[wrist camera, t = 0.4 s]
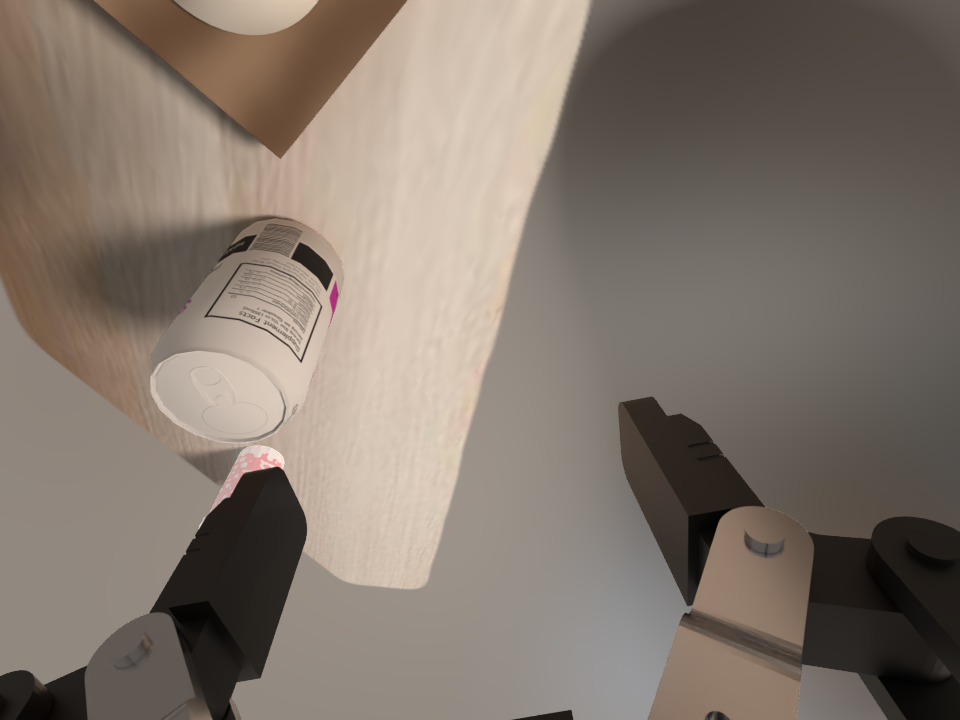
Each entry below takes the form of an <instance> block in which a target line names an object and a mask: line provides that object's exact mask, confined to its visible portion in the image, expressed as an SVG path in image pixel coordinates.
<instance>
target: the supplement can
mask: <svg viewBox="0 0 960 720" xmlns="http://www.w3.org/2000/svg"><path fill="white" fill-rule="evenodd" d="M343 281H344V274H343V268H342V263H341V260H340V258H339V257H338V255H337V253H336V252H335V250H334V248H333V247H332V245H331V244H330V243H329V242H328V241H327V240H326V239H324V238H323V237H322V236H321V235H320V234H319V233H318V232H317V231H315V230H313V229H311V228H309V227H307V226H305V225H302V224H300V223H298V222H296V221H289V220H283V219H277V218H274V219H269V220H263V221H257V222H255V223H253V224H252V225H250V226H249V227H247V228H245V229H244V230H242V231H241V232H240V234H239V235H238V236H237V238H236V239H235V240H234V242H233V243H232V244H231V246H230V247H229V248H228V249H227V251H226V252H225V253H224V255H223V256H222V257H221V259H220V260H219V261H218V263H217V264H216V265H215V267H214V268H213V269H212V271H211V272H210V273H209V275H208V276H207V277H206V279H205V280H204V281H203V283H202V284H201V285H200V287H199V288H198V289H197V290H196V292H195V293H194V294H193V296H192V297H191V298H190V300H189V301H188V302H187V304H186V305H185V306H184V308H183V309H182V310H181V312H180V313H179V314H178V316H177V317H176V318H175V320H174V321H173V322H172V324H171V325H170V326H169V328H168V329H167V330H166V331H165V333H164V334H163V335H162V337H161V338H160V340H159V342H158V343H157V345H156V347H155V349H154V350H153V352H152V354H151V366H152V376H151V377H150V381H151V395H152V396H153V398H154V400H155V402H156V404H157V405H158V407H159V409H160V410H161V411H162V412H163V413H164V414H165V415H166V416H167V417H168V418H169V419H170V420H172V421H173V422H174V423H175V424H176V425H178V426H180V427H182V428H183V429H185V430H187V431H189V432H191V433H193V434H194V435H197V436H200V437H203V438H207V439H210V440H213V441H217V442H224V443H235V444H243V443H250V442H257V441H261V440H263V439H265V438H267V437H270V436H272V435H274V434H276V432H277V431H278V430H279V429H280V428H281V427H282V426H283V425H285V424H286V423H288V422H289V421H290V420H292V418H293V417H294V416H295V415H296V414H297V413H298V412H299V411H300V409H301V408H302V407H303V404H304V401H305V398H306V395H307V392H308V389H309V386H310V383H311V380H312V377H313V374H314V371H315V368H316V365H317V362H318V359H319V356H320V353H321V350H322V347H323V344H324V341H325V338H326V335H327V332H328V329H329V326H330V323H331V320H332V317H333V314H334V311H335V308H336V305H337V302H338V299H339V296H340V293H341V289H342V285H343Z"/></svg>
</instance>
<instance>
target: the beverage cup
mask: <svg viewBox="0 0 960 720" xmlns="http://www.w3.org/2000/svg"><path fill="white" fill-rule="evenodd" d="M284 463H285V462H284V458H283V456H282V455H281V454H280V453H279V452H278V451H276V450H274V449H272V448H270V447H266V446H260V445H253V446H249V447H246V448H244V449H243V450H242V451H241V452H240V454H239V456H238V458H237V460H236V462H235V464H234V465H233V467H232V469H231V471H230V473H229V475H228V477H227V479H226V481H225V483H224V485H223V487H222V489H221V491H220V493H219V495H218V496H217V498H216V501H215V502H214V504H213V506H212V508H211V510H210V512H211V511H212V510H213V509H214V508H215V507H216V506H217V505H218V504H219V503H220V502H221V501H222V500H223V499H224V498H228V497H230V496H231V494H232V492H233V490H234V489H235V487H236V485H237V483H238V482H239V480H240V478H241V476H242V475H243V474H244V473H246V472H250V471H256V470H261V469H266V468H271V467H280V468H281V469H282V470H283V467H284ZM210 512H209V513H210ZM205 518H206V516H205V517H204V518H203V521H204V520H205ZM203 521H202V523H203ZM202 523H200V526H201V525H202ZM200 526H199V528H200ZM198 530H199V529H198Z"/></svg>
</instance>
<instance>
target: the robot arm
mask: <svg viewBox="0 0 960 720" xmlns="http://www.w3.org/2000/svg"><path fill="white" fill-rule="evenodd" d="M618 411H619V426H620V441H621V455H622V462H623V467H624V470H625V474H626V477H627V480H628V482H629V484H630V486H631V489H632V491H633V493H634V495H635V497H636V499H637V501H638V503H639V505H640V507H641V510H642V512H643V514H644V516H645V518H646V520H647V522H648V524H649V526H650V528H651V531H652V533H653V535H654V537H655V539H656V541H657V543H658V545H659V547H660V549H661V551H662V554H663V556H664V558H665V560H666V562H667V564H668V566H669V568H670V570H671V573H672V575H673V577H674V579H675V581H676V583H677V585H678V587H679V589H680V591H681V593H682V596H683V598H684V600H685V602H686V604H687V606H691V605H693V606H692V609H691V611H690V613H689V614H687V613H685V614H684V615H683V616H682V618H681V620H680V623H679V625H678V628H677V631H676V634H675V637H674V640H673V643H672V646H671V649H670V652H669V655H668V658H667V662H666V665H665V668H664V671H663V674H662V677H661V680H660V683H659V686H658V689H657V692H656V695H655V698H654V701H653V704H652V707H651V711H650V714H649V717H648V720H796V718H797V709H798V701H799V692H800V683H801V674H802V664H804V665H811V666H817V667H823V668H829V669H836V670H842V671H848V672H855V673H858V674H859V676H860V677H861V679H862V680H863V682H864V684H865V685H866V687H867V688H868V690H869V691H870V693H871V694H872V696H873V697H874V699H875V700H876V702H877V704H878V705H879V707H880V708H881V709H882V711H883V713H884V714H885V716H886V717H887V719H888V720H960V532H959V531H957V530H955V529H953V528H951V527H948V526H946V525H944V524H941V523H938V522H935V521H932V520H928V519H924V518H916V517H894V518H889V519H887V520H884V521H882V522H880V523H879V524H877V526H876V527H875V528H874V530H873V532H872V537H871V539H863V538H851V537H839V536H827V535H819V534H814V533H810V532H807V531H806V529H805V528H804V527H803V526H802V525H801V524H800V523H799V522H797V521H796V520H794V519H793V518H791V517H790V516H788V515H786V514H784V513H782V512H779V511H777V510H773V509H770V508H766V507H765V506H764V505H763V504H762V502H761V501H760V500H759V499H758V497H757V496H756V495H755V494H754V492H753V491H752V490H751V488H750V487H749V486H748V485H747V483H746V482H745V481H744V480H743V478H742V477H741V476H740V474H738V472H737V471H736V469H735V468H734V467H733V466H732V464H731V463H730V462H729V461H728V459H727V458H726V457H724V456H723V453H722V452H721V450H720V449H719V448H718V446H716V444H714V443H713V440H712V439H711V438H710V436H709V435H708V434H707V433H706V431H705V430H704V429H703V428H702V426H701V425H699V424H698V423H696V422H694V421H693V420H691V419H689V418H688V417H686V416H684V415H682V414H677V415H672V416H667V415H666V414H665V413H664V411H663V410H662V408H661V407H660V406H659V404H658V403H657V401H656V400H655V398H653V397H647V398H642V399H636V400H631V401H626V402H620V403H619V406H618ZM195 536H196V538H195V539H193V540H192V542H191V543H190V545H189V547H188V549H187V550H186V555H184V556H183V557H182V559H181V560H180V562H179V564H178V566H177V567H176V569H175V571H174V572H173V574H172V576H171V577H170V579H169V581H168V582H167V584H166V586H165V588H164V589H163V591H162V593H161V594H160V596H159V598H158V600H157V601H156V603H155V605H154V606H153V608H152V610H151V611H150V613H149V614H146V615H143V616H140V617H139V618H136V619H134V620H132V621H130V622H129V623H127V624H125V625H124V626H122V627H121V628H119V629H118V630H117V631H116V632H114V633H113V634H112V635H111V636H110V637H109V638H108V639H107V640H105V642H104V643H103V644H102V645H101V646H100V647H99V648H98V650H97V651H96V652H95V653H94V655H93V657H92V658H91V660H90V662H89V664H88V665H87V666H85V667H83V668H81V669H78V670H76V671H74V672H72V673H70V674H67V675H65V676H63V677H61V678H58V679H56V680H54V681H52V682H49V683H48V684H45V685H43V684H42V683H41V682H40V681H39V680H38V679H37V678H36V677H35V676H33V674H32V673H30V672H28V671H24V670H23V671H22V670H19V671H14V672H10V673H7V674H4V675H2V676H0V720H241V717H240V714H239V711H238V709H237V706H236V704H235V703H234V701H233V700H232V698H231V696H232V693H233V690H234V688H235V685H236V682H241V681H247V680H253V679H258V678H261V675H262V672H263V669H264V665H265V663H266V660H267V657H268V654H269V650H270V647H271V644H272V641H273V638H274V635H275V632H276V629H277V626H278V623H279V620H280V617H281V614H282V611H283V608H284V605H285V602H286V599H287V596H288V592H289V589H290V587H291V583H292V580H293V577H294V574H295V571H296V568H297V565H298V562H299V559H300V556H301V553H302V550H303V547H304V544H305V541H306V536H307V523H306V518H305V514H304V512H303V510H302V508H301V506H300V504H299V501H298V499H297V497H296V495H295V493H294V491H293V489H292V487H291V485H290V483H289V481H288V478H287V476H286V474H285V472H284V471H283V470H282V469H281V468H280V467H271V468H266V469H261V470H256V471H250V472H246V473H244V474H243V475H242V476H241V478H240V480H239V482H238V483H237V485H236V487H235V489H234V490H233V492H232V494H231V496H230V497H228V498H224V499H223V500H222V501H221V502H220V503H219V504H218V505H217V506H216V507H215V508H214V509H213V510H212V511H211V512H210V513H209V514H208V515H207V516H206V518H205V520H204V521H203V523H202V525H201V526H200V528H199V530H198V531H197V533H196V535H195ZM514 720H573V716H572V711H571V710H568V711H562V712H556V713H550V714H544V715H538V716H532V717H526V718H520V719H514Z"/></svg>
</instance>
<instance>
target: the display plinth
mask: <svg viewBox="0 0 960 720" xmlns="http://www.w3.org/2000/svg"><path fill="white" fill-rule="evenodd" d="M94 1H95V2H96V3H97V4H98V5H100V6H101V7H102V8H103V9H104V10H105V11H107V12H108V13H109V14H110V15H111V16H113V17H114V18H115V19H116V20H117V21H118V22H120V23H121V24H122V25H123V26H124V27H125V28H127V29H128V30H129V31H130V32H131V33H133V34H134V35H135V36H136V37H137V38H138V39H140V40H141V41H142V42H143V43H144V44H146V45H147V46H148V47H149V48H150V49H151V50H153V51H154V52H155V53H156V54H157V55H158V56H160V57H161V58H162V59H163V60H164V61H166V62H167V63H168V64H169V65H170V66H171V67H173V68H174V69H175V70H176V71H177V72H179V73H180V74H181V75H182V76H183V77H184V78H186V79H187V80H188V81H189V82H190V83H191V84H193V85H194V86H195V87H196V88H197V89H199V90H200V91H201V92H202V93H203V94H204V95H206V96H207V97H208V98H209V99H210V100H211V101H213V102H214V103H215V104H216V105H217V106H219V107H220V108H221V109H222V110H223V111H224V112H226V113H227V114H228V115H229V116H230V117H232V118H233V119H234V120H235V121H236V122H237V123H239V124H240V125H241V126H242V127H243V128H244V129H246V130H247V131H248V132H249V133H250V134H252V135H253V136H254V137H255V138H256V139H257V140H259V141H260V142H261V143H262V144H263V145H265V146H266V147H267V148H268V149H269V150H270V151H272V152H273V153H274V154H275V155H276V156H277V157H279V158H280V159H281V158H282V156H283V155H284V154H285V153H286V152H287V150H288V149H289V148H290V147H291V146H292V144H293V143H294V142H295V141H296V139H297V138H298V137H299V136H300V134H301V133H302V132H303V131H304V129H305V128H306V127H307V126H308V124H309V123H310V122H311V121H312V119H313V118H314V117H315V116H316V114H317V113H318V112H319V111H320V109H321V108H322V107H323V106H324V104H325V103H326V102H327V101H328V99H329V98H330V97H331V96H332V94H333V93H334V92H335V90H336V89H337V88H338V87H339V85H340V84H341V83H342V82H343V80H344V79H345V78H346V77H347V75H348V74H349V73H350V72H351V70H352V69H353V68H354V67H355V65H356V64H357V63H358V62H359V60H360V59H361V58H362V57H363V55H364V54H365V53H366V52H367V50H368V49H369V48H370V47H371V45H372V44H373V43H374V42H375V40H376V39H377V38H378V37H379V35H380V34H381V33H382V32H383V30H384V29H385V28H386V27H387V25H388V24H389V23H390V21H391V20H392V19H393V18H394V16H395V15H396V14H397V13H398V11H399V10H400V9H401V8H402V6H403V5H404V4H405V3H406V1H407V0H94Z"/></svg>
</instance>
